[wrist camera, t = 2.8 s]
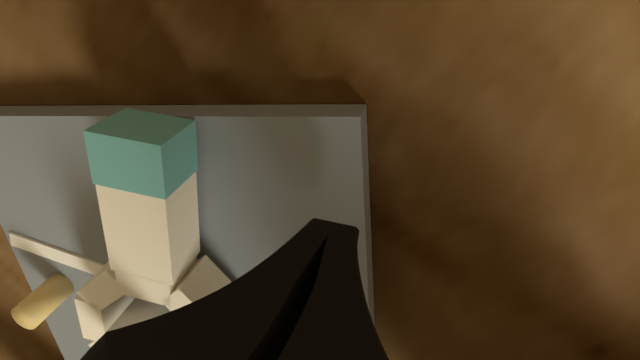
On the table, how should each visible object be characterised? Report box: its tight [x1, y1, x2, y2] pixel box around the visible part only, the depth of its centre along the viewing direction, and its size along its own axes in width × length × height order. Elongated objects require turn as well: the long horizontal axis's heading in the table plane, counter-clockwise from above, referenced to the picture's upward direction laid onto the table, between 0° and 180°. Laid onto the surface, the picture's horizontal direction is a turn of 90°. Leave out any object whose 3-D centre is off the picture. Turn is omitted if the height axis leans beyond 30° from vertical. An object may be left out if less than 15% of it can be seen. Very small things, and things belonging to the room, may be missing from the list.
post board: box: [0, 104, 375, 360], centre depth 18 cm, size 16×16×6 cm
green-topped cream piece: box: [74, 108, 231, 347], centre depth 17 cm, size 11×6×2 cm, turn 175°
